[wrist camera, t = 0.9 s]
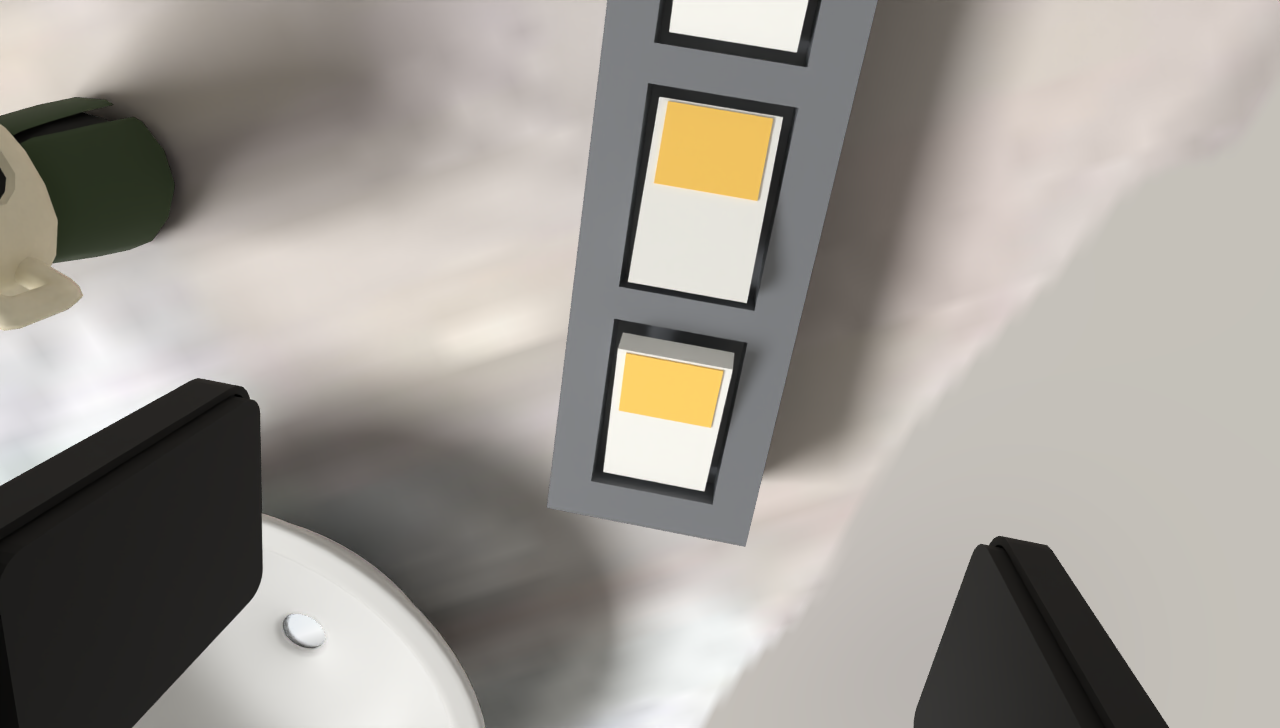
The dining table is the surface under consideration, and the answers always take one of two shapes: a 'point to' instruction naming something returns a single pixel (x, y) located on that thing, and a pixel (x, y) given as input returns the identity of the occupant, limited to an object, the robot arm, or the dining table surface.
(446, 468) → the dining table surface
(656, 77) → the rocker switch panel
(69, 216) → the character mug
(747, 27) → the rocker
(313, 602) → the soup bowl
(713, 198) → the middle rocker
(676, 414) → the rocker
